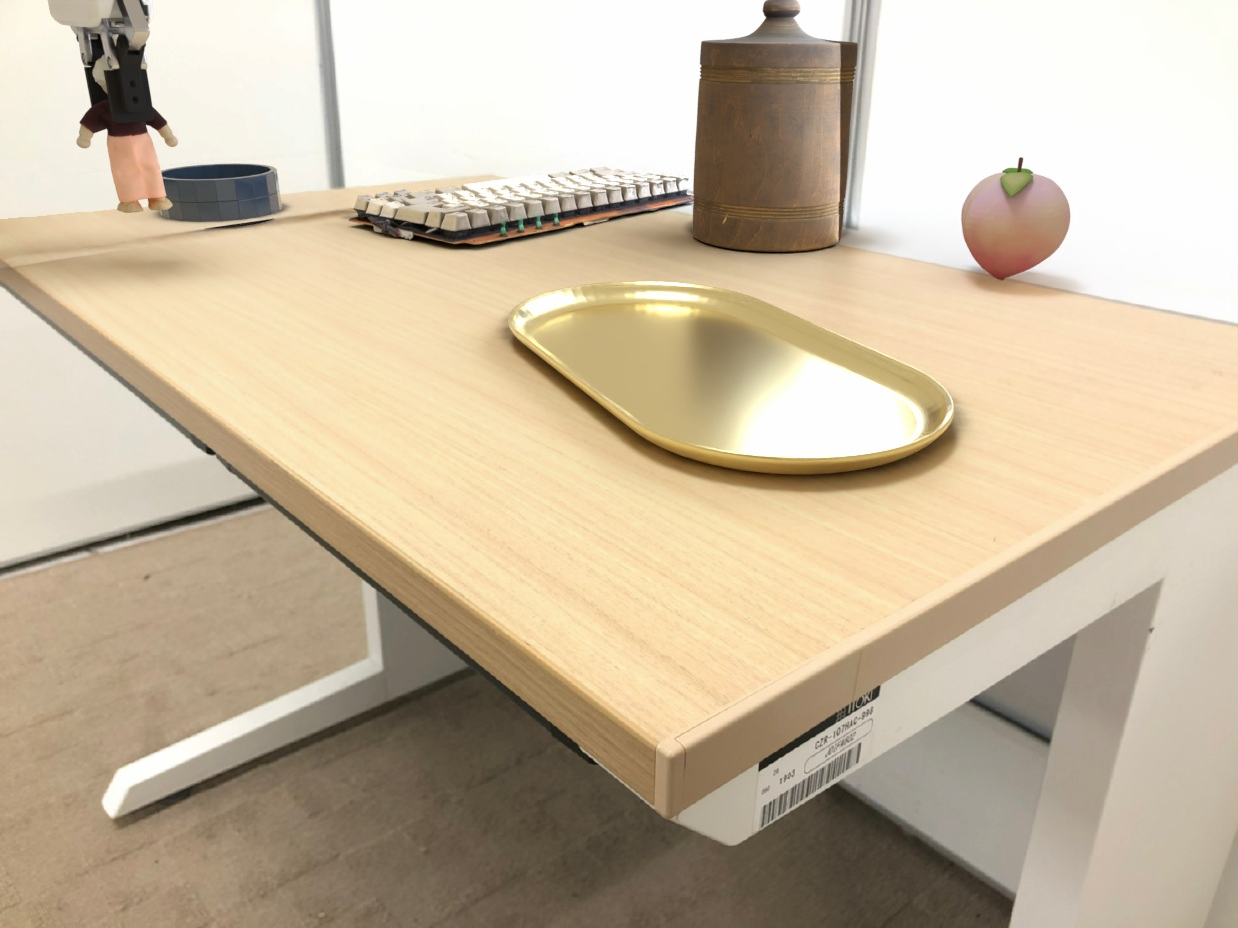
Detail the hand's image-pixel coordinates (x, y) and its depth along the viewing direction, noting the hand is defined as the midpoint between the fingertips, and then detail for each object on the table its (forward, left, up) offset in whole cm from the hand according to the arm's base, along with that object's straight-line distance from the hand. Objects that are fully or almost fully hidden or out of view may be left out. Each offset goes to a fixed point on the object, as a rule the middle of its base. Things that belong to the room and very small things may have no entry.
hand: (123, 117), depth 83 cm
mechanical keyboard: (+6, +40, -13) cm, 43 cm away
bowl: (-16, +14, -12) cm, 25 cm away
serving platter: (+54, +12, -13) cm, 56 cm away
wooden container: (+32, +48, -13) cm, 59 cm away
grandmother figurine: (0, 0, -8) cm, 8 cm away
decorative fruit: (+57, +48, -13) cm, 75 cm away
